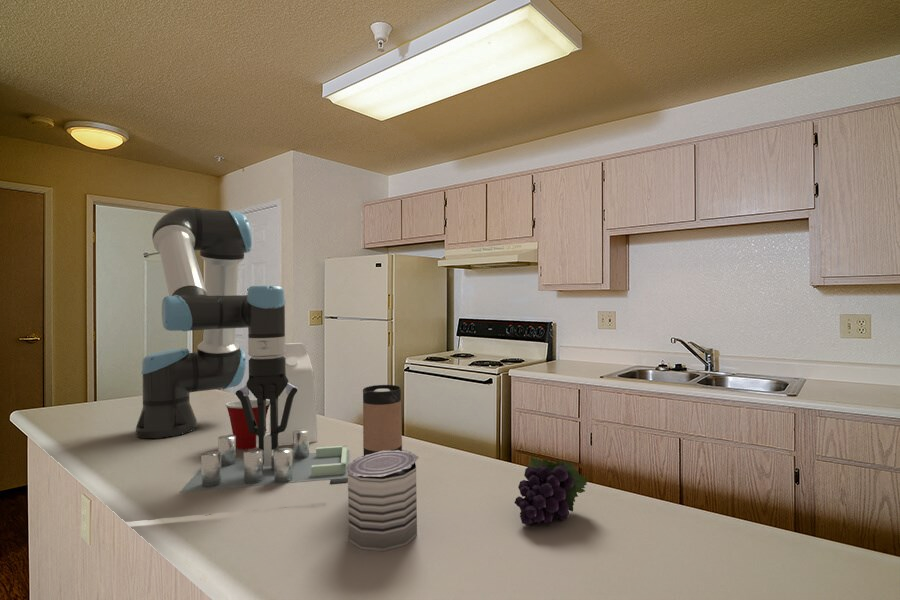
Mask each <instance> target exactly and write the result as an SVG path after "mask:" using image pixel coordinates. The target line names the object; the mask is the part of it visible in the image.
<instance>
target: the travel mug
mask: <svg viewBox="0 0 900 600" xmlns="http://www.w3.org/2000/svg"><path fill="white" fill-rule="evenodd" d="M362 416H363V417H362V418H363V419H362V421H363V422H362V426H363V427H362V429H363V430H362V433H363V434H362V436H363V437H362V439H363V440H362V443H363V445H362V446H363V447H362V449H363V456H365V455H369V454H372V453H376V452H379V451H395V450H403V432H402V429H403V428H402V425H403V424H402V423H403V422H402V388H401V387H400V386H398V385H394V384H378V385H377V384H376V385H375V384H374V385H369V386H366V387H364V388H363V389H362Z"/></svg>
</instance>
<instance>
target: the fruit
mask: <svg viewBox="0 0 900 600" xmlns="http://www.w3.org/2000/svg"><path fill="white" fill-rule="evenodd" d="M529 459H530V462H528V464H529V465H528V464H526V465H525V467H526V468H525V470H524V475H523V476H524V478H526V479H523V480H520V482H519V484H518V490H519V493H520V495H521V496H520V495H519V496H517V497H516V498H515V500H514V504H515V505H516V506H517V507H518V508H519V511H520V512H519V514H520V515H519V517H520V520H521V521H520V522H521V523H522V524H523V525H526V526H529V525H530V524H531V525H535V523H541V522H543V523H550V522H553V519H554V516H555V517H556V518H557V519H559V520H561V521H564V520H566V519H567V518H569V517H570V512H571V513H572V512H574V505H575V504H574V502H576V498H578V497H579V496H578V494H582V493H584V492H586V490H585V489H586V487H585V486H588V484H587V483H588V482H589V479H588V478H587V477H584V476H583V475H581V474H580V473H579V470H577V469H576V467H575V465H574V464H573V463H572V462H567V461H565V460H564V461H563V460H562V459H558V460H557V461H556V462H555V463H554V462H553V461H549V460H547V459H541V458H540V459H538V458H537V457H532V456H530V457H529Z"/></svg>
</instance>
